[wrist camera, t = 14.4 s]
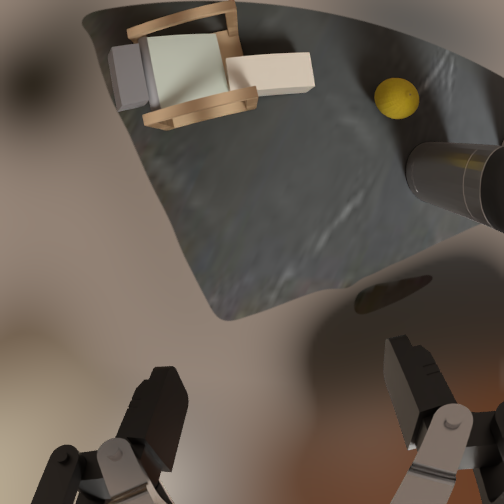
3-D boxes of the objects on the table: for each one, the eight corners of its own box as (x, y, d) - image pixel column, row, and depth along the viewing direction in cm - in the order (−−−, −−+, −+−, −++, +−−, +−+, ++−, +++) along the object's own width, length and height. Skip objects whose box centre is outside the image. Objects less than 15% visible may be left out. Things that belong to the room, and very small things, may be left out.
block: (225, 68, 36) (300, 62, 37) (229, 99, 38) (305, 92, 38) (225, 58, 32) (309, 52, 33) (230, 93, 33) (314, 86, 34)
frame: (236, 29, 35) (234, -1, 26) (255, 108, 39) (258, 96, 30) (150, 52, 36) (126, 29, 27) (167, 130, 39) (144, 125, 30)
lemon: (372, 77, 37) (396, 64, 30) (405, 94, 38) (433, 86, 30) (361, 110, 39) (384, 103, 31) (395, 127, 40) (422, 124, 32)
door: (209, 38, 34) (218, 30, 32) (223, 102, 36) (234, 97, 34) (106, 48, 27) (110, 38, 25) (119, 121, 30) (123, 115, 28)
